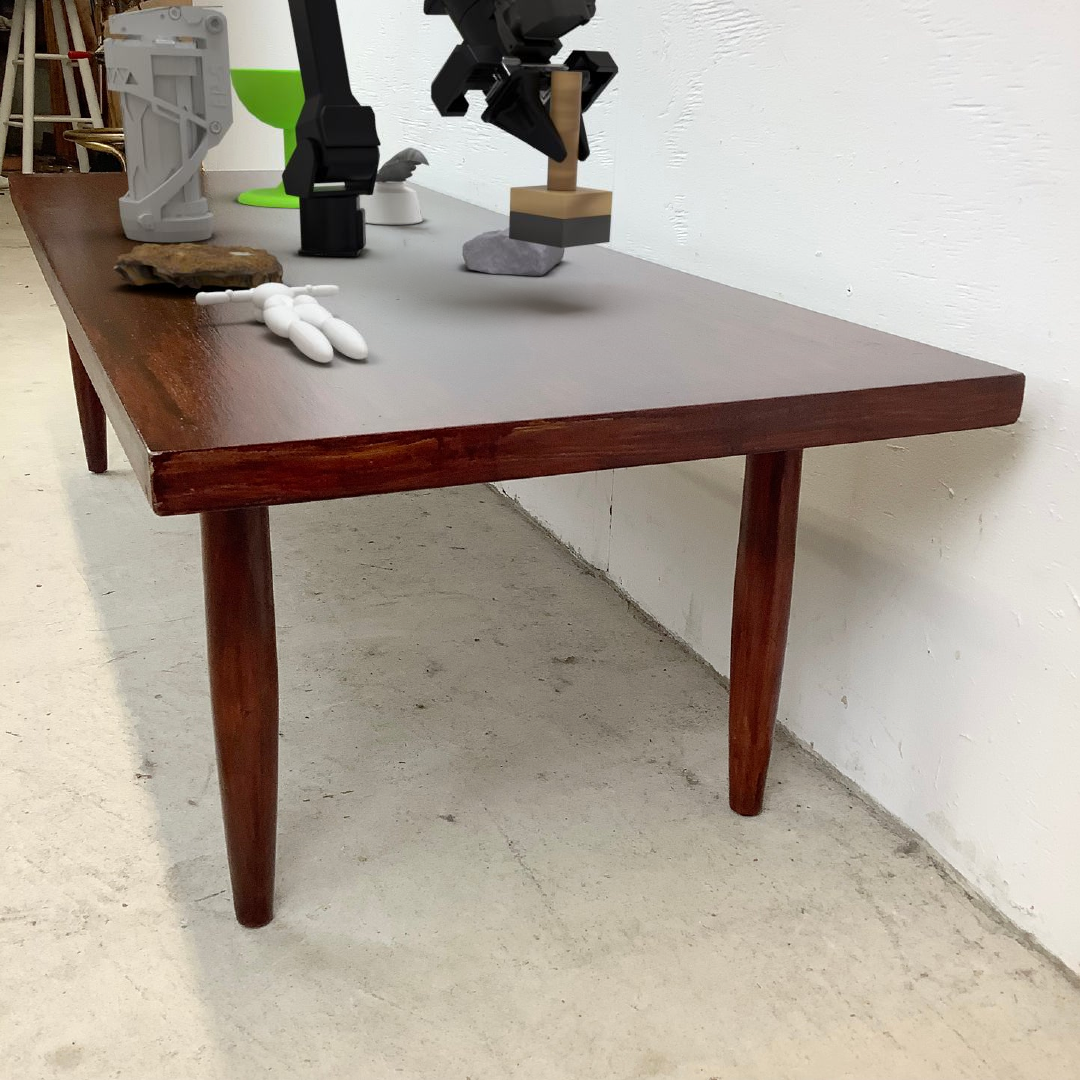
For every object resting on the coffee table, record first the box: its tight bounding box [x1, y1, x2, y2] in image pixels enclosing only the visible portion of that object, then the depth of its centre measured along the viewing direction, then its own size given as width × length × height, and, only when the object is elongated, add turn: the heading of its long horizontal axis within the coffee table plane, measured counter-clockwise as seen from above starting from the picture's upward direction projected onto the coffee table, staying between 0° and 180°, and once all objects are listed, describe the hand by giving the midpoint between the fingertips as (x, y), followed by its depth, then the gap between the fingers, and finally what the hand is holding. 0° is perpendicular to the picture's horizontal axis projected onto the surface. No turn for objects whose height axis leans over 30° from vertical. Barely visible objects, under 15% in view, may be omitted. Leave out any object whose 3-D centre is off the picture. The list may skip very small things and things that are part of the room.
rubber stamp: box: [508, 71, 613, 249], centre depth 101 cm, size 6×6×14 cm
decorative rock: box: [113, 242, 284, 290], centre depth 107 cm, size 11×4×15 cm
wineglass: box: [230, 68, 305, 209], centre depth 169 cm, size 16×16×18 cm
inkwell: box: [360, 147, 430, 226], centre depth 151 cm, size 9×18×10 cm, turn 32°
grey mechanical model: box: [103, 5, 234, 243], centre depth 132 cm, size 13×10×25 cm
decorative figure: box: [195, 283, 369, 364], centre depth 90 cm, size 4×12×18 cm
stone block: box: [461, 227, 566, 277], centre depth 125 cm, size 12×5×10 cm
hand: (574, 158), depth 100 cm, fingers closed on rubber stamp, 2 cm apart
